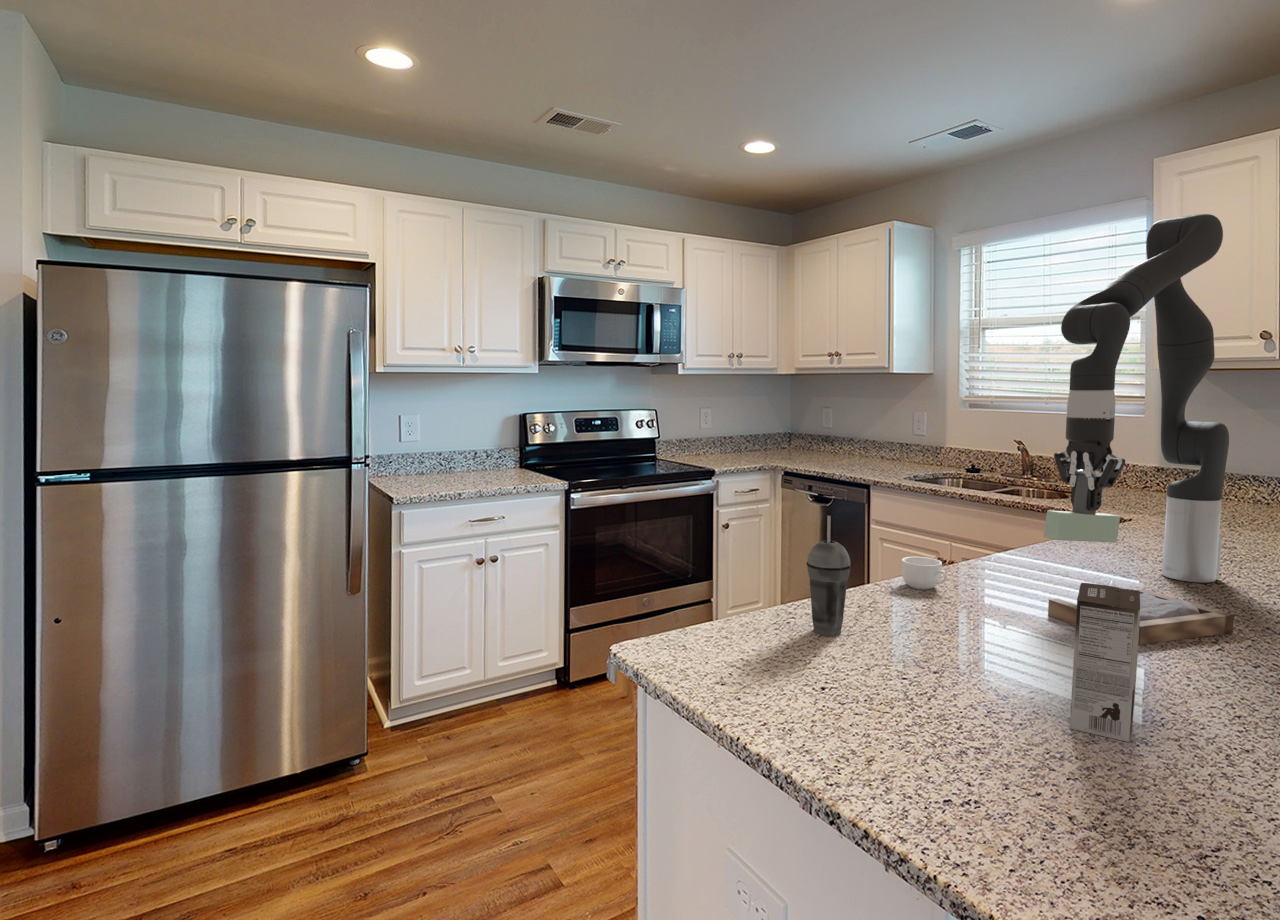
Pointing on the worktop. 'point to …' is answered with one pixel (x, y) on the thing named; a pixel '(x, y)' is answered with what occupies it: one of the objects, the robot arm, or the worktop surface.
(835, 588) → the beverage cup
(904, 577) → the teacup
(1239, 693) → the worktop surface
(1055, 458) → the robot arm
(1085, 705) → the coffee box
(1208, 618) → the wooden u-shaped frame
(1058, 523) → the board
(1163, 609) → the stone block
